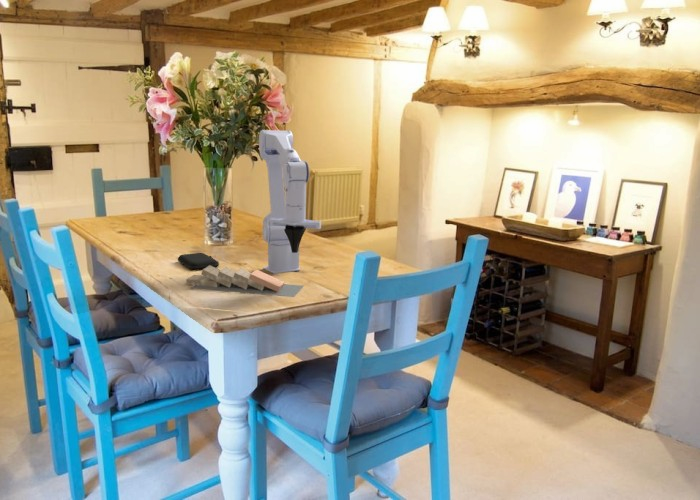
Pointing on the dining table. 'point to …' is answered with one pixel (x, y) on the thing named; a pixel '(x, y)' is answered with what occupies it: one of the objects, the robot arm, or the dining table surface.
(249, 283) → the wooden block
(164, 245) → the dining table surface
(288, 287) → the slate runway mat
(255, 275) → the terracotta domino
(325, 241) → the dining table surface
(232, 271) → the wooden block
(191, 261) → the carrying case or bag
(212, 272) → the ivory domino
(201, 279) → the beige wooden block
